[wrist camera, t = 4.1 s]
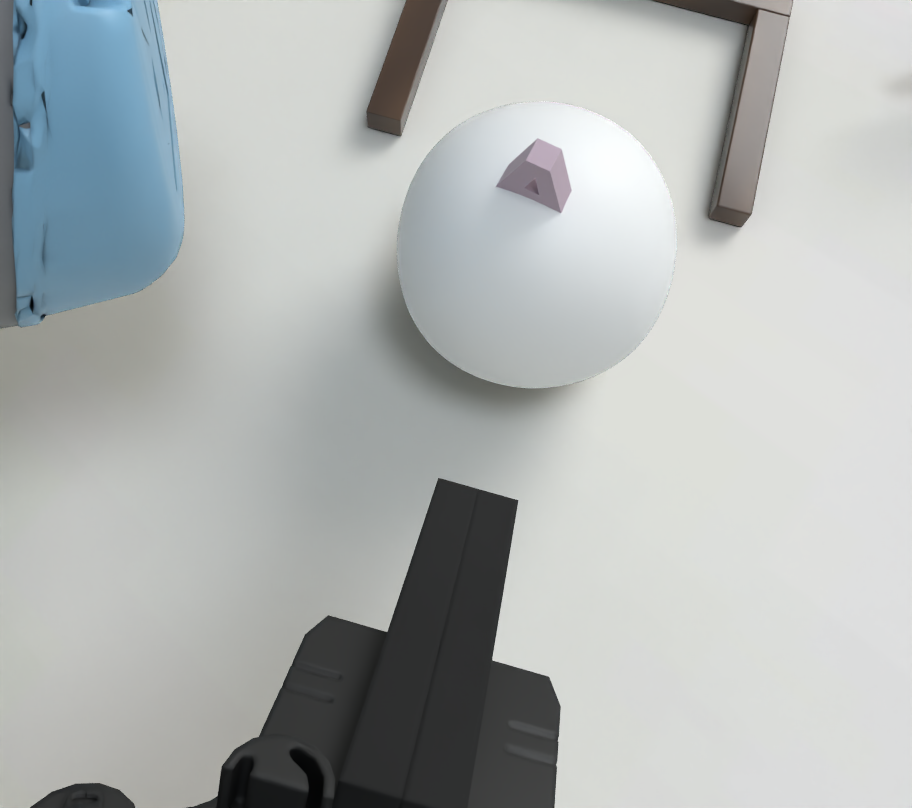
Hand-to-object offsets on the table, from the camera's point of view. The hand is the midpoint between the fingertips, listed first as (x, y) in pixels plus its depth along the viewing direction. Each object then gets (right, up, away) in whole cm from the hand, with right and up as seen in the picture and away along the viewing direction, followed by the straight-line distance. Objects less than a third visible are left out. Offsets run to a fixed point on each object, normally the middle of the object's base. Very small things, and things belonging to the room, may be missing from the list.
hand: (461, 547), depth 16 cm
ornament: (+3, +7, +21) cm, 22 cm away
